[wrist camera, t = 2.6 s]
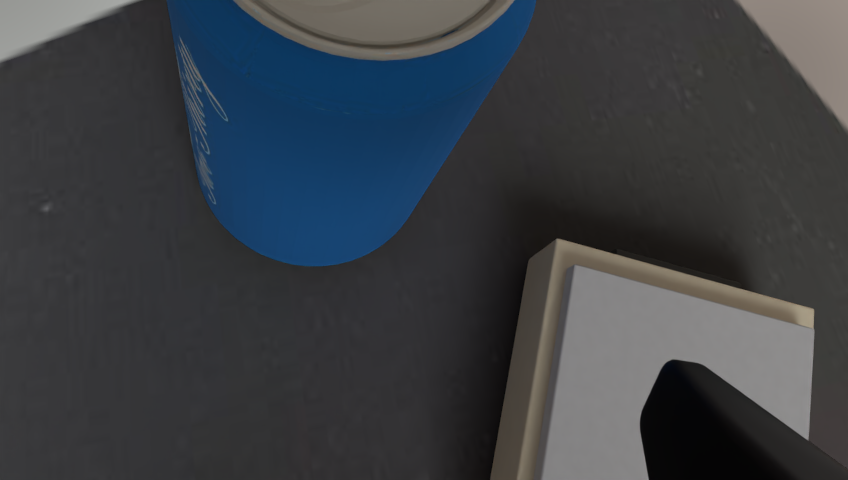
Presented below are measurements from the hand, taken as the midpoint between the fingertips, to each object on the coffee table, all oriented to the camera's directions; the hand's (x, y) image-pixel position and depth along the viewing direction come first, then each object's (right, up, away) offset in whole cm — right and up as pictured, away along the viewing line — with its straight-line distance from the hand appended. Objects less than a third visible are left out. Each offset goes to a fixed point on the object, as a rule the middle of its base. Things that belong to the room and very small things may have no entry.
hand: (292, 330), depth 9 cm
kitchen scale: (+8, -5, +14) cm, 17 cm away
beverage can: (-2, +3, +15) cm, 15 cm away
